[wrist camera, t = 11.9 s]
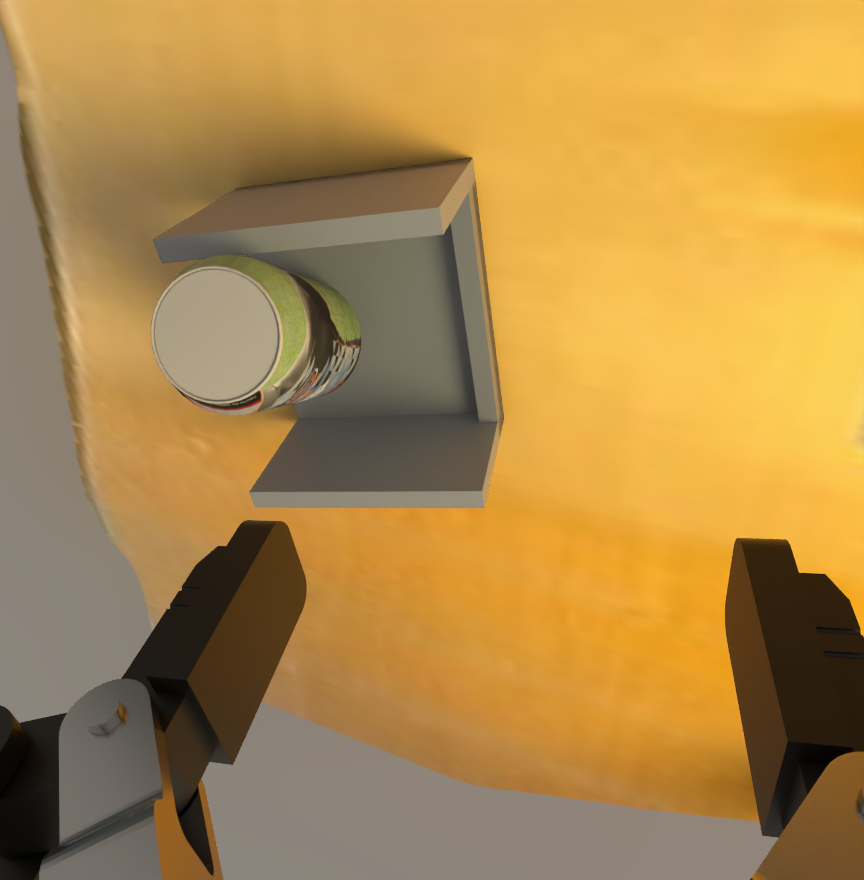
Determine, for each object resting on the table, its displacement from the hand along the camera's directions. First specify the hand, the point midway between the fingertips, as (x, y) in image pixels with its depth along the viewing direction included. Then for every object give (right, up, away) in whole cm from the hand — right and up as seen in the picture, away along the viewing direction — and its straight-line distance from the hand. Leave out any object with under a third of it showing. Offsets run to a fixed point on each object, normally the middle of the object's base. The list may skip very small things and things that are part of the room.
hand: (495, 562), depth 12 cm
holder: (-4, +9, +24) cm, 26 cm away
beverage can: (-7, +8, +23) cm, 26 cm away
